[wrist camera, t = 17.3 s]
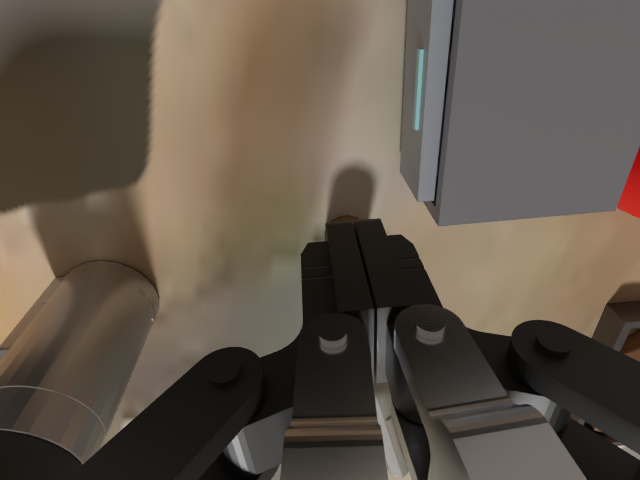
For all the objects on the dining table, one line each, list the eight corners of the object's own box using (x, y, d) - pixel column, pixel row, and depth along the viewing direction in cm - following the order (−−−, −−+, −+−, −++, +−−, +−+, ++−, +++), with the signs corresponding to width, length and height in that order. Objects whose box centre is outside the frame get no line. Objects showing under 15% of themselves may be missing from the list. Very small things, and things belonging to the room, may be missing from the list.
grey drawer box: (397, 171, 34) (414, 202, 29) (405, -46, 26) (431, -53, 21) (549, 158, 34) (591, 186, 29) (605, -62, 26) (676, -72, 21)
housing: (410, 180, 36) (438, 226, 29) (426, -75, 26) (473, -96, 19) (554, 168, 36) (615, 210, 29) (623, -90, 26) (739, -117, 19)
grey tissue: (321, 315, 44) (328, 400, 35) (402, 307, 44) (431, 390, 35) (329, 405, 53) (337, 491, 44) (397, 398, 53) (419, 483, 44)
